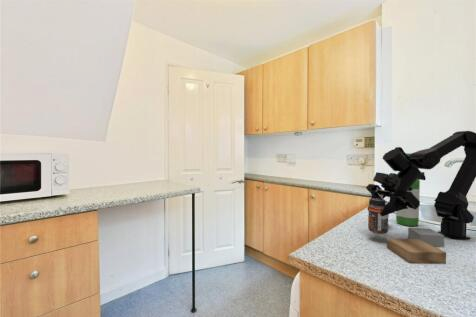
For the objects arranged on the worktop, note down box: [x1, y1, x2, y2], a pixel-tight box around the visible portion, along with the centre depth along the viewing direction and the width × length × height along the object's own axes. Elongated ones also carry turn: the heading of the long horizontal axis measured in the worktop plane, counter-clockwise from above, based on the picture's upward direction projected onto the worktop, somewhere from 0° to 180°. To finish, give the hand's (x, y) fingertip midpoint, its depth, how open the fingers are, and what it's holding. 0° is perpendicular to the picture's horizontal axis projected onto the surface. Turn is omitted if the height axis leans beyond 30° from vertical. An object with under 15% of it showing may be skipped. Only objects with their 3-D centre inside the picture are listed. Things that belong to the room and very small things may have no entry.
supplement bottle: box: [367, 198, 389, 235], centre depth 82 cm, size 6×6×11 cm
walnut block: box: [386, 238, 447, 264], centre depth 70 cm, size 10×10×3 cm
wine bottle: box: [395, 152, 421, 227], centre depth 99 cm, size 8×8×30 cm
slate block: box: [407, 227, 445, 248], centre depth 80 cm, size 7×7×4 cm
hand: (374, 212), depth 81 cm, fingers closed on supplement bottle, 6 cm apart
